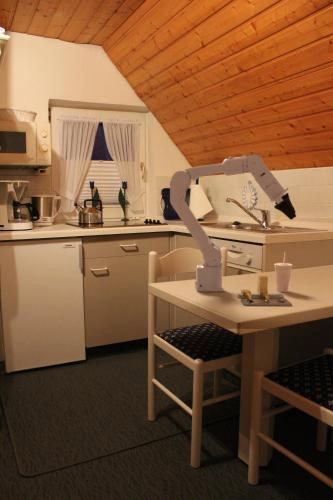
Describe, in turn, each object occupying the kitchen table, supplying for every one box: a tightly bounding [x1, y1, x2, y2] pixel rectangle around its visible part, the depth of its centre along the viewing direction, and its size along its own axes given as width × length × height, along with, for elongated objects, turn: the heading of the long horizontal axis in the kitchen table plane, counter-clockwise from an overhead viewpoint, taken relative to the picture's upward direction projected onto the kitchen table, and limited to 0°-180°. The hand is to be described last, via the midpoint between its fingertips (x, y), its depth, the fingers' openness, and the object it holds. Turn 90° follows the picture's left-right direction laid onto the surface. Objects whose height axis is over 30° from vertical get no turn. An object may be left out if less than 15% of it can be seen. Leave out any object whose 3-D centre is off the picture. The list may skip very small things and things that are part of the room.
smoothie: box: [273, 251, 294, 293], centre depth 148 cm, size 6×6×14 cm
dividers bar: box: [237, 289, 285, 301], centre depth 137 cm, size 15×9×2 cm, turn 91°
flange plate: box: [240, 298, 293, 307], centre depth 133 cm, size 15×6×1 cm, turn 91°
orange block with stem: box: [256, 275, 269, 301], centre depth 137 cm, size 3×9×6 cm, turn 1°
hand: (293, 215), depth 144 cm, fingers open, 7 cm apart
